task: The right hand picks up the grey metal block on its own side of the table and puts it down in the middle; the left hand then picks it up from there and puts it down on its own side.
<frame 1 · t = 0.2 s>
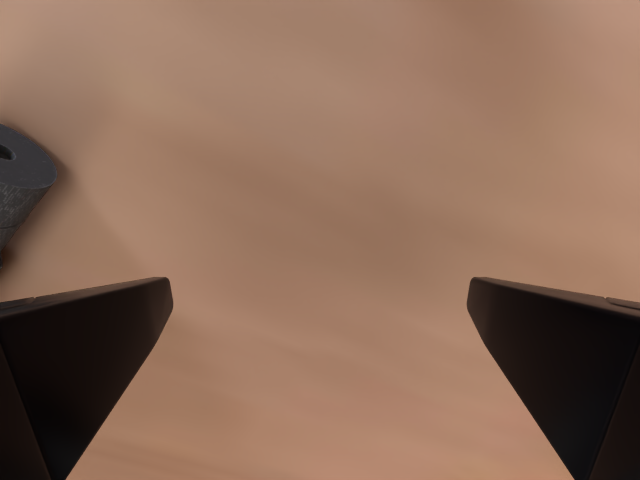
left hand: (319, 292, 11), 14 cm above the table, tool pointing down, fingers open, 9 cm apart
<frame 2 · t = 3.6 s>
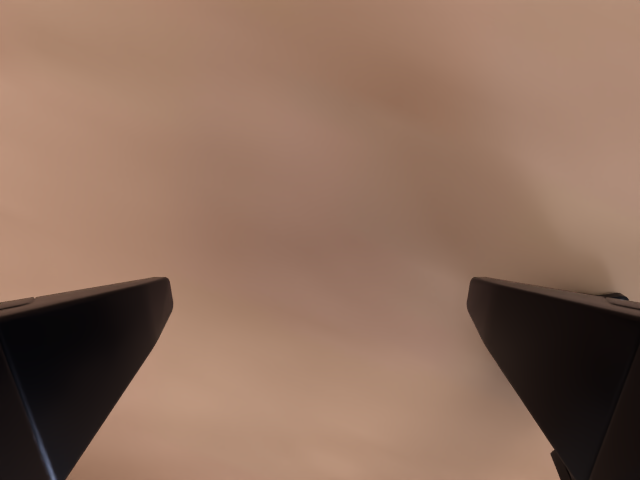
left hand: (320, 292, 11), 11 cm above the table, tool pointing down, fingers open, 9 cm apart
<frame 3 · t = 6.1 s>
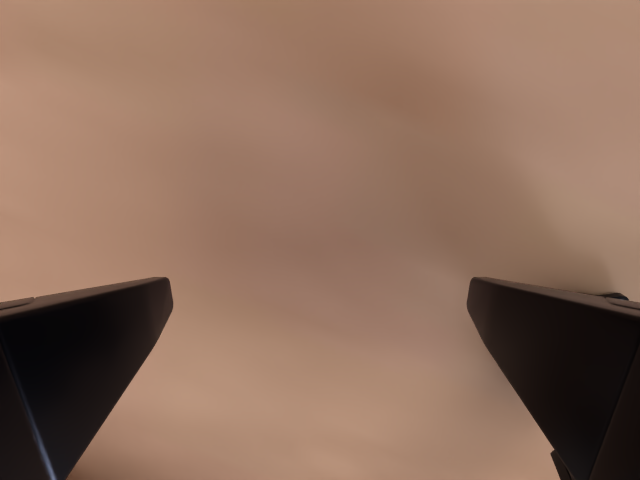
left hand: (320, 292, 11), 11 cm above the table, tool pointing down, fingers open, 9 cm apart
when the right hand's fingers open (1 cm above the table, at t = 8.6 s): grey metal block stays where it is, on the table.
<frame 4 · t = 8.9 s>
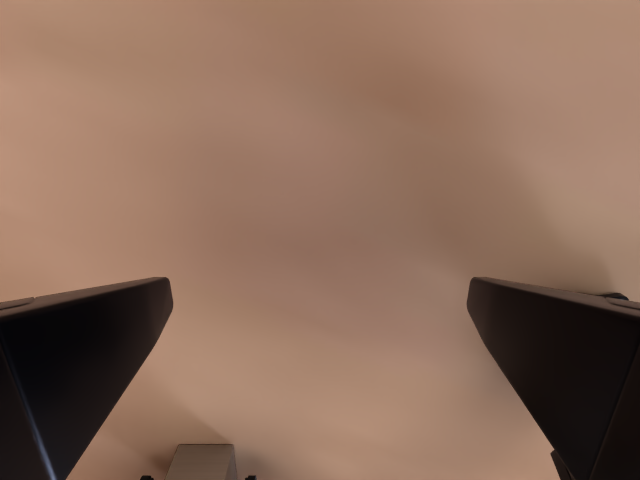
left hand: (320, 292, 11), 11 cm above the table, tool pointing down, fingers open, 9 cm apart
grey metal block: (209, 466, 29), on the table
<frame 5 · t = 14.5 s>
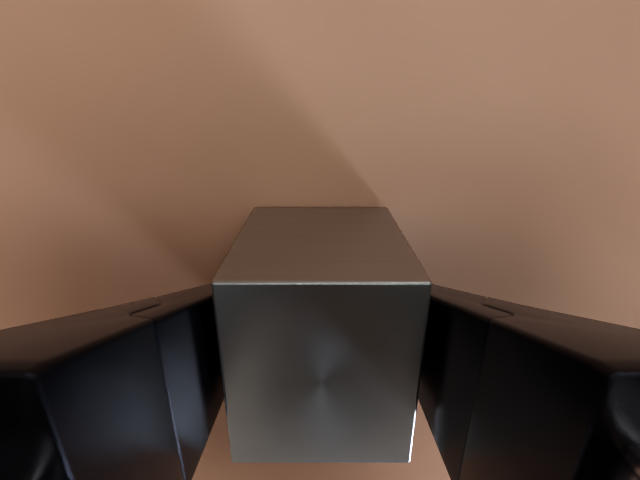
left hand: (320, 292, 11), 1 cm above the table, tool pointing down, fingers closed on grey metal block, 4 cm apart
grey metal block: (320, 275, 12), on the table, touching left hand
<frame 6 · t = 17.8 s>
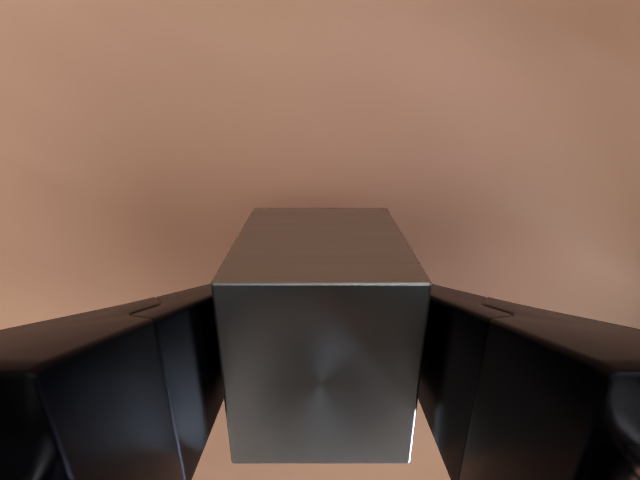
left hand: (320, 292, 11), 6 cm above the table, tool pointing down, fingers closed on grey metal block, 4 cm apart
grey metal block: (320, 275, 12), point 5 cm above the table, touching left hand
when the left hand's fingers open (2 cm above the table, at t = 21.0 s): grey metal block stays where it is, on the table.
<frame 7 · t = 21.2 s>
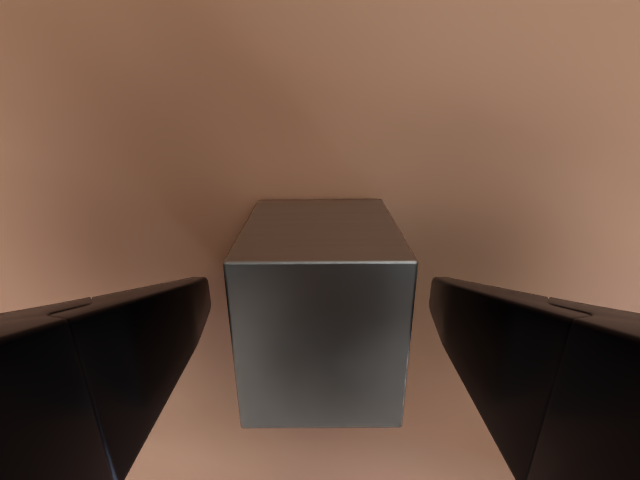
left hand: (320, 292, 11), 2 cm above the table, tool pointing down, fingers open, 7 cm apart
grey metal block: (320, 263, 13), on the table
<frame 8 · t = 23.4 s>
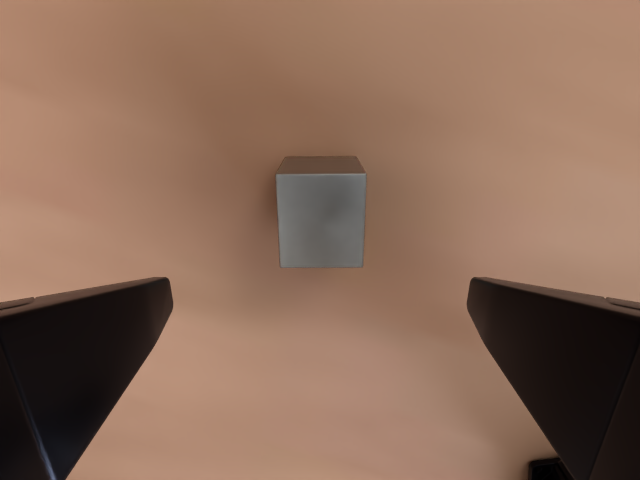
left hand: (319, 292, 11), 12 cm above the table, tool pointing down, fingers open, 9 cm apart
grey metal block: (321, 196, 22), on the table
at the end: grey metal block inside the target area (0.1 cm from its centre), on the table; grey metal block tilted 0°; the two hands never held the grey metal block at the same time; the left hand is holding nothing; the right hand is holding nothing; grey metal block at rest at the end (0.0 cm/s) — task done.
